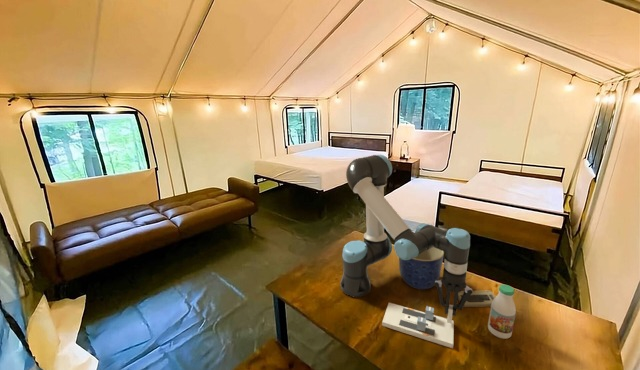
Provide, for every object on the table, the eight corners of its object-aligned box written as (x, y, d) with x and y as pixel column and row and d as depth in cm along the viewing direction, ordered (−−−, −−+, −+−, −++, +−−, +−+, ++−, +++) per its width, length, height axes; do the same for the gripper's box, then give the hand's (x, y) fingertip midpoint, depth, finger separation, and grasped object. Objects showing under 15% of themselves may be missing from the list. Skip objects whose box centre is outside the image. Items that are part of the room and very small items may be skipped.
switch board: (382, 325, 107) (382, 321, 106) (388, 306, 117) (388, 301, 117) (452, 348, 96) (453, 343, 95) (453, 324, 106) (453, 320, 105)
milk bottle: (483, 324, 105) (489, 282, 99) (501, 322, 106) (508, 280, 100) (497, 340, 98) (505, 296, 92) (516, 338, 98) (525, 293, 92)
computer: (463, 308, 114) (464, 302, 113) (454, 295, 122) (455, 289, 121) (500, 307, 113) (501, 301, 112) (489, 295, 121) (490, 289, 120)
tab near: (416, 329, 102) (417, 320, 100) (417, 324, 104) (418, 315, 103) (425, 331, 100) (425, 322, 99) (425, 326, 102) (426, 318, 101)
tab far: (425, 318, 106) (425, 309, 105) (425, 313, 109) (426, 305, 107) (432, 320, 105) (433, 311, 104) (433, 316, 107) (434, 307, 106)
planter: (439, 272, 138) (441, 240, 132) (442, 299, 119) (446, 263, 114) (398, 267, 145) (399, 236, 139) (396, 291, 126) (397, 257, 121)
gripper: (435, 270, 96) (430, 322, 103) (475, 279, 91) (468, 333, 97) (436, 260, 103) (432, 309, 109) (474, 267, 97) (467, 318, 104)
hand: (449, 320), depth 103 cm, fingers closed
